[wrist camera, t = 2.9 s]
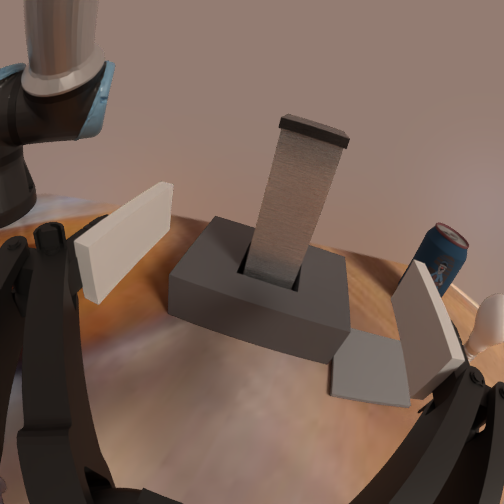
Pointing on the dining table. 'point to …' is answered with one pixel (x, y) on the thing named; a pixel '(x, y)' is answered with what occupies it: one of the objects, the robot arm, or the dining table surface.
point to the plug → (293, 198)
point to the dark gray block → (261, 295)
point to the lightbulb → (486, 326)
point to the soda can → (442, 255)
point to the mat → (370, 370)
